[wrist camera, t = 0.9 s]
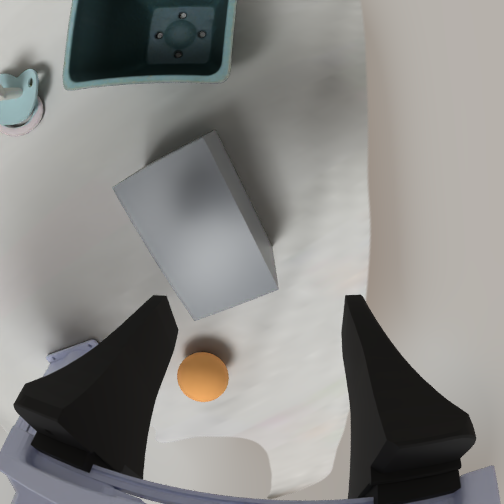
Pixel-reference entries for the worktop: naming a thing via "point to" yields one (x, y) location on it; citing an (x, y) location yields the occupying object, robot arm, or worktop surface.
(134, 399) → the robot arm
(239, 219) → the gray rectangular block
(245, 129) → the worktop surface
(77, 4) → the flower pot
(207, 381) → the ball
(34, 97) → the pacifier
